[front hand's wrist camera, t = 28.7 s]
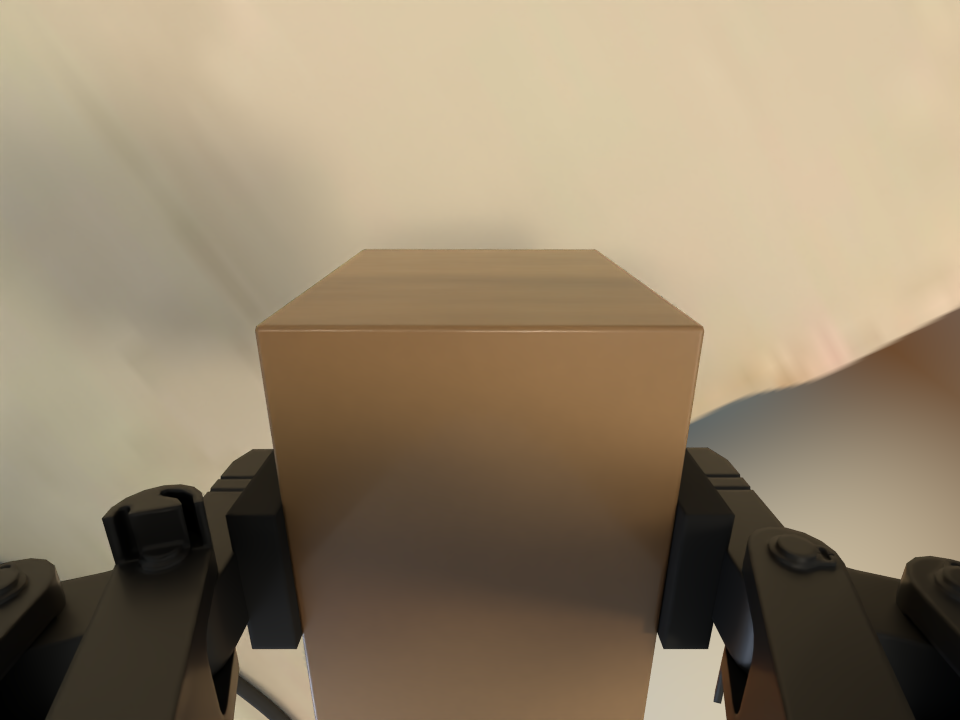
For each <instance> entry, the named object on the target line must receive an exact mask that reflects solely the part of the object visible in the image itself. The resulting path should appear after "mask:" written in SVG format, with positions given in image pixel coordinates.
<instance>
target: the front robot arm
mask: <svg viewBox="0 0 960 720" xmlns="http://www.w3.org/2000/svg"><path fill="white" fill-rule="evenodd" d="M102 521H103V524H104V527H105V531H106V534H107V537H108V541H109V544H110V547H111V551H112V554H113V557H114V561H115V564H116V565H115V567H114V569H113V570H111V571H107V572H103V573H99V574H94V575H89V576H85V577H80V578H75V579H71V580H66V581H61V582H60V579H59V577H58V574H57V571H56V568H55V566H54V565H53V564H52V563H50V562H49V561H47V560H44V559H33V558H30V559H23V560H17V561H11V562H7V563H3V564H1V565H0V720H233V719H234V710H235V701H236V693H237V694H238V695H239V696H241V697H242V698H243V699H245V700H246V701H247V702H249V703H250V704H251V705H252V706H254V707H255V708H256V709H257V710H259V711H260V712H261V713H262V714H263V715H265V716H266V717H267V718H268V719H269V720H291V719H290V718H289V717H288V716H287V715H286V714H285V713H284V712H283V711H282V710H281V709H280V708H279V707H278V706H276V705H275V704H274V703H273V702H272V701H271V700H270V699H268V698H267V697H266V696H265V695H263V694H262V693H261V692H260V691H258V690H257V689H256V688H255V687H253V686H252V685H251V684H249V683H248V682H247V681H245V680H244V679H243V678H241V677H240V676H239V664H238V657H237V653H236V648H235V647H236V645H237V643H238V641H239V639H240V637H241V635H242V633H243V631H244V629H245V627H246V625H248V630H249V635H250V640H251V645H252V649H297V647H298V644H299V642H300V639H301V636H302V629H301V622H300V616H299V609H298V603H297V596H296V590H295V584H294V577H293V571H292V564H291V558H290V552H289V545H288V539H287V532H286V526H285V519H284V513H283V507H282V500H281V494H280V487H279V481H278V475H277V468H276V462H275V455H274V449H252V450H251V451H249V452H248V453H246V454H245V455H243V456H241V457H240V458H238V459H237V460H235V461H233V462H232V463H231V465H230V466H229V467H228V468H227V469H226V471H225V472H224V473H223V474H222V475H221V479H218V480H217V481H216V483H215V484H214V485H213V486H212V487H211V490H210V492H207V493H206V495H205V496H204V497H203V496H202V492H200V491H199V490H198V489H196V488H195V487H192V486H187V485H181V484H179V485H164V486H160V487H156V488H151V489H147V490H144V491H142V492H139V493H137V494H134V495H132V496H130V497H127V498H125V499H124V500H122V501H121V502H119V503H118V504H116V505H115V506H113V507H112V508H111V509H110V510H109V511H108V512H107V513H106V514H105V515H104V517H103V518H102ZM713 622H714V624H715V626H716V628H717V630H718V632H719V634H720V636H721V638H722V640H723V642H724V644H725V648H724V653H723V657H722V662H721V666H720V671H719V676H718V680H717V685H716V689H715V696H714V702H716V703H721V701H722V696H723V692H724V700H725V709H726V717H727V720H960V562H959V561H955V560H951V559H946V558H939V557H933V556H925V557H915V558H914V559H912V560H911V561H909V562H908V563H907V564H906V567H905V570H904V572H903V575H902V578H901V579H896V578H891V577H887V576H882V575H877V574H872V573H868V572H863V571H858V570H854V569H850V568H847V567H846V566H845V564H844V562H843V561H842V560H841V558H840V557H839V556H838V554H837V553H836V552H835V551H834V550H832V549H831V548H830V547H828V546H827V545H826V544H825V543H823V542H822V541H820V540H818V539H816V538H814V537H812V536H810V535H808V534H806V533H803V532H799V531H796V530H792V529H789V528H785V527H784V526H783V525H782V524H781V523H780V521H779V520H778V519H777V518H776V517H775V516H774V514H773V513H772V512H771V511H770V510H769V508H768V507H767V506H766V505H765V504H764V502H763V501H762V500H761V499H760V498H759V497H758V495H757V494H756V493H755V492H754V491H753V490H750V486H749V485H748V483H747V482H746V481H745V480H744V479H743V478H740V474H739V473H738V472H737V470H736V469H735V468H734V467H733V466H732V465H731V463H730V462H729V461H728V460H727V459H725V458H724V457H722V456H720V455H719V454H717V453H716V452H714V451H712V450H711V449H709V448H686V450H685V456H684V463H683V469H682V476H681V482H680V488H679V495H678V501H677V508H676V514H675V520H674V527H673V533H672V540H671V546H670V552H669V559H668V565H667V572H666V578H665V584H664V591H663V597H662V604H661V610H660V616H659V623H658V629H657V633H658V635H659V638H660V641H661V643H662V646H663V648H664V649H708V647H709V642H710V637H711V632H712V627H713Z"/></svg>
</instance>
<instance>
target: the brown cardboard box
mask: <svg viewBox="0 0 960 720" xmlns="http://www.w3.org/2000/svg"><path fill="white" fill-rule="evenodd" d="M255 333H256V339H257V346H258V352H259V359H260V365H261V372H262V378H263V384H264V391H265V397H266V404H267V410H268V417H269V423H270V430H271V436H272V442H273V449H274V455H275V462H276V468H277V475H278V481H279V487H280V494H281V500H282V507H283V513H284V519H285V526H286V532H287V539H288V545H289V552H290V558H291V564H292V571H293V577H294V584H295V590H296V596H297V603H298V609H299V616H300V622H301V629H302V636H303V642H304V649H305V655H306V661H307V668H308V674H309V681H310V687H311V694H312V700H313V707H314V713H315V719H316V720H643V719H644V712H645V706H646V699H647V693H648V686H649V680H650V674H651V667H652V661H653V655H654V648H655V642H656V635H657V629H658V623H659V616H660V610H661V604H662V597H663V591H664V584H665V578H666V572H667V565H668V559H669V552H670V546H671V540H672V533H673V527H674V520H675V514H676V508H677V501H678V495H679V488H680V482H681V476H682V469H683V463H684V456H685V450H686V444H687V437H688V431H689V424H690V418H691V412H692V405H693V399H694V392H695V386H696V380H697V373H698V367H699V360H700V354H701V348H702V341H703V335H704V329H703V326H701V325H700V324H699V323H697V322H696V321H694V320H693V319H692V318H690V317H689V316H687V315H686V314H685V313H683V312H682V311H681V310H679V309H678V308H676V307H675V306H674V305H672V304H671V303H669V302H668V301H667V300H665V299H664V298H662V297H661V296H660V295H658V294H657V293H656V292H654V291H653V290H651V289H650V288H649V287H647V286H646V285H644V284H643V283H642V282H640V281H639V280H637V279H636V278H635V277H633V276H632V275H631V274H629V273H628V272H626V271H625V270H624V269H622V268H621V267H619V266H618V265H617V264H615V263H614V262H612V261H611V260H610V259H608V258H607V257H606V256H604V255H603V254H601V253H600V252H599V251H597V250H491V249H365V250H362V251H361V252H360V253H358V254H357V255H355V256H354V257H353V258H351V259H350V260H348V261H347V262H346V263H344V264H343V265H341V266H340V267H339V268H337V269H336V270H334V271H333V272H332V273H330V274H329V275H327V276H326V277H325V278H323V279H322V280H320V281H319V282H318V283H316V284H315V285H313V286H312V287H311V288H309V289H308V290H306V291H305V292H304V293H302V294H301V295H299V296H298V297H297V298H295V299H294V300H292V301H291V302H290V303H288V304H287V305H285V306H284V307H283V308H281V309H280V310H278V311H277V312H276V313H274V314H273V315H271V316H270V317H269V318H267V319H266V320H264V321H263V322H262V323H260V324H259V325H257V326H256V330H255Z"/></svg>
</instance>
